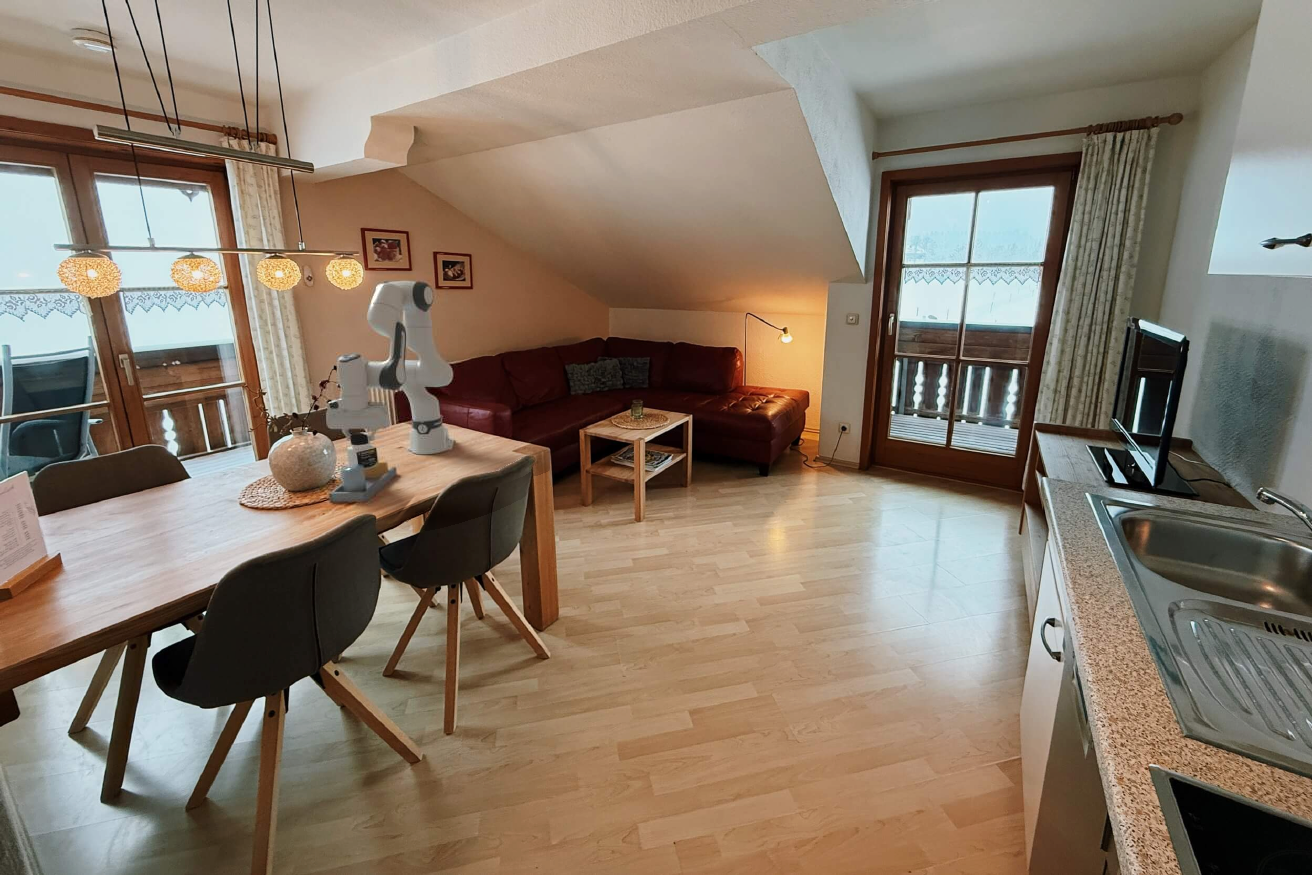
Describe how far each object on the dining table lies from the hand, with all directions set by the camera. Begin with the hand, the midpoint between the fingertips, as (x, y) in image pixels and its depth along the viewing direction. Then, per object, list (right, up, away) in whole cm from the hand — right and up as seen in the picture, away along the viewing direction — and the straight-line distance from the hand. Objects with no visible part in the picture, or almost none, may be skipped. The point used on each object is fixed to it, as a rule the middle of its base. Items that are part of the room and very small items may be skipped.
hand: (361, 440), depth 202 cm
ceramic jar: (0, -19, -4) cm, 19 cm away
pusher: (-1, -14, +12) cm, 18 cm away
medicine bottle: (0, -9, +2) cm, 10 cm away
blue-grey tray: (0, -18, +3) cm, 18 cm away
